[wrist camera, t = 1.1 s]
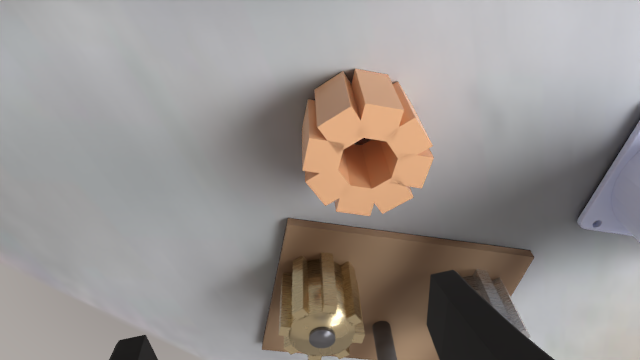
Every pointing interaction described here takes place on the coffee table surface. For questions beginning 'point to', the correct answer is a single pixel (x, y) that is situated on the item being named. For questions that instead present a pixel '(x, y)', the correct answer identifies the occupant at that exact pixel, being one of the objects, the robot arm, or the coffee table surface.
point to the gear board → (390, 281)
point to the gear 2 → (496, 297)
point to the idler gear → (370, 158)
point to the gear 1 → (320, 308)
